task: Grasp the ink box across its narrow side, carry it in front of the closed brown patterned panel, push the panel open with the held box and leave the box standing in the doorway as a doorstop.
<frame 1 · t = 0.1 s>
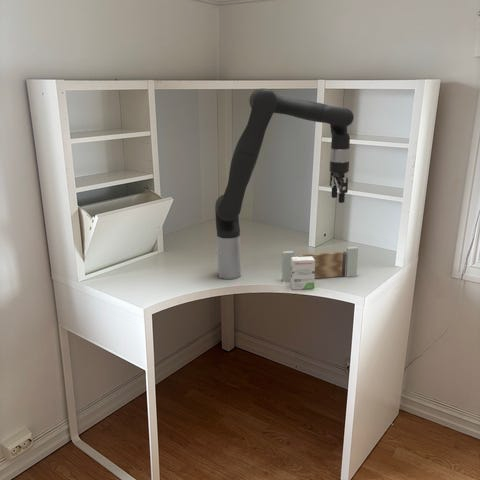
hand: (337, 200, 199), 29 cm above the table, fingers open, 8 cm apart
brown patterned panel: (321, 265, 196), point 5 cm above the table, hinge at 0.0°
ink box: (302, 287, 189), on the table
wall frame: (316, 278, 197), on the table
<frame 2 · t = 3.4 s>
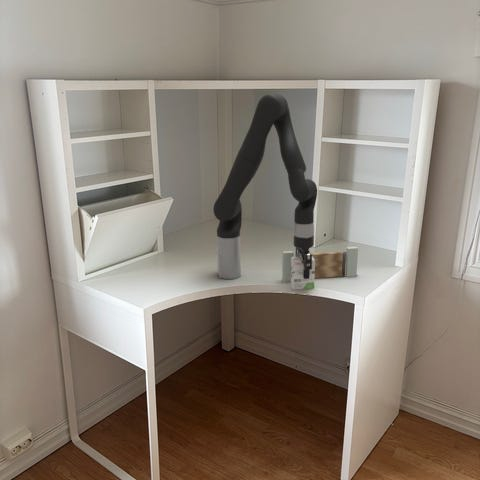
hand: (303, 274, 187), 5 cm above the table, fingers open, 8 cm apart
brown patterned panel: (321, 264, 196), point 5 cm above the table, hinge at 2.3°
everything else where it was.
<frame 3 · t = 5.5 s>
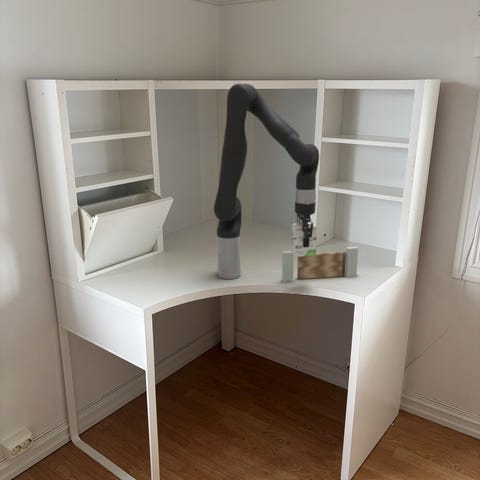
hand: (303, 244, 184), 17 cm above the table, fingers closed on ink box, 5 cm apart
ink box: (303, 254, 185), point 13 cm above the table, touching gripper
everything else where it was.
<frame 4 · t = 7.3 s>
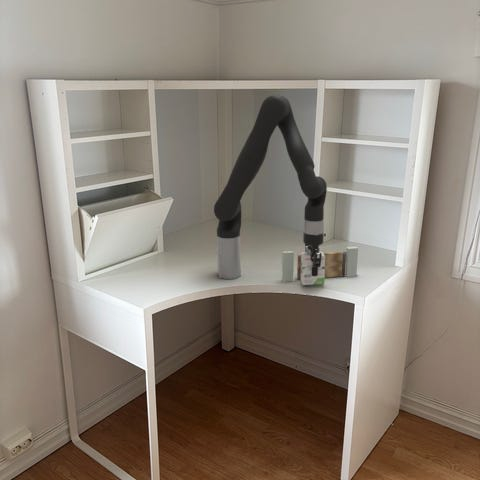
hand: (312, 272, 188), 5 cm above the table, fingers closed on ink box, 5 cm apart
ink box: (312, 282, 190), point 1 cm above the table, touching gripper
everything else where it was.
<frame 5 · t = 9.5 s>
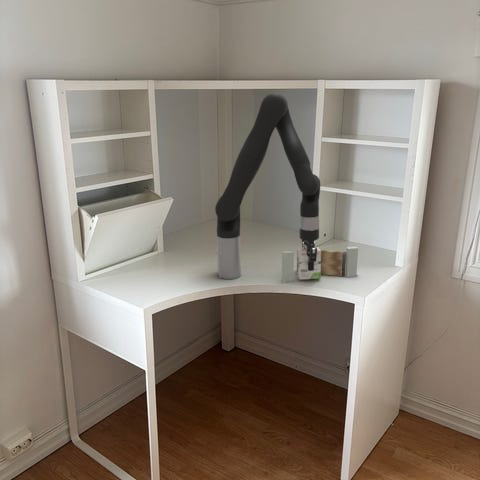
hand: (308, 267, 194), 5 cm above the table, fingers closed on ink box, 5 cm apart
brown patterned panel: (321, 261, 200), point 5 cm above the table, hinge at 25.1°, touching hand
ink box: (308, 277, 196), point 1 cm above the table, touching gripper
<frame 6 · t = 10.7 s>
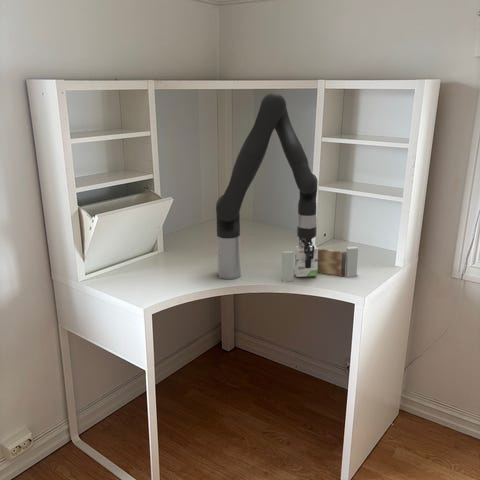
hand: (306, 265, 197), 5 cm above the table, fingers closed on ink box, 5 cm apart
brown patterned panel: (322, 260, 201), point 5 cm above the table, hinge at 34.2°, touching hand
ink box: (305, 274, 199), point 1 cm above the table, touching gripper
when the fingers open (5 cm above the table, at t = 10.9 s): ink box stays where it is, on the table.
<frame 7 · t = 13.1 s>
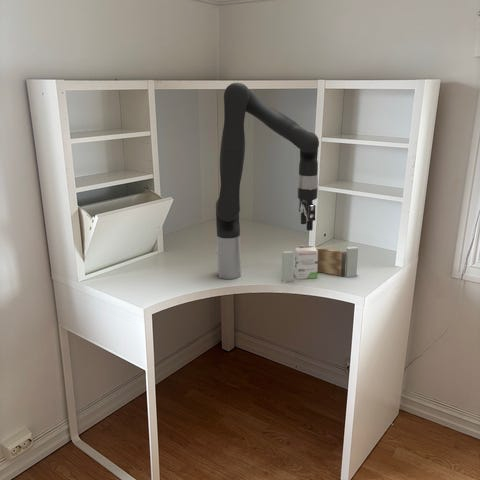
hand: (306, 227, 192), 21 cm above the table, fingers open, 8 cm apart
brown patterned panel: (322, 260, 201), point 5 cm above the table, hinge at 37.7°
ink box: (305, 276, 199), on the table
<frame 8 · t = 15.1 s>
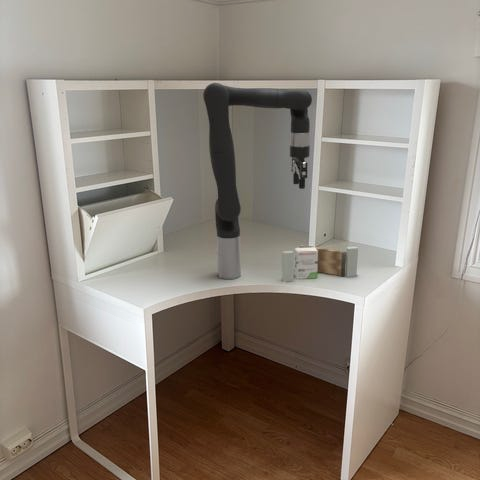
hand: (298, 186, 192), 36 cm above the table, fingers open, 8 cm apart
nothing on the table moved.
at the end: brown patterned panel at +38° (first picture: +0°); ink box inside the target area (0.8 cm from its centre), on the table; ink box tilted 0° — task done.
